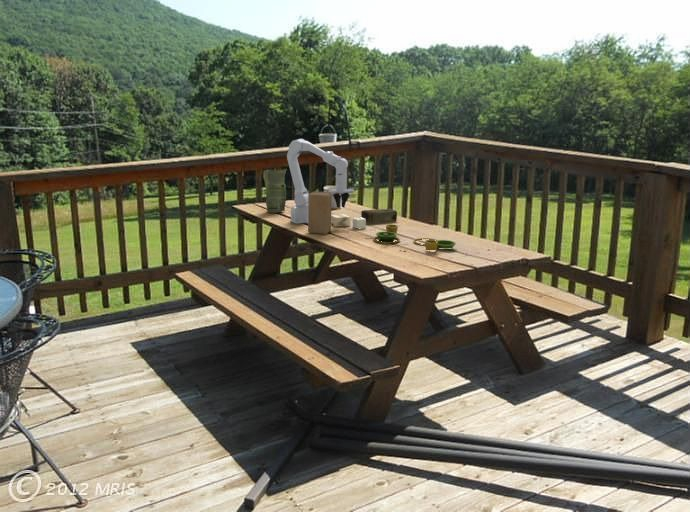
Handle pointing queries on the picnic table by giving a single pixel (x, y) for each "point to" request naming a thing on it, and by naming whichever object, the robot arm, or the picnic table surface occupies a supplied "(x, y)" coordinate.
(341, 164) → the robot arm
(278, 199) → the green vase
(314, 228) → the block
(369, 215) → the beverage carton
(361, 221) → the numbered cube seven
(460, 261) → the picnic table surface
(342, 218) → the plain block
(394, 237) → the tableware set
